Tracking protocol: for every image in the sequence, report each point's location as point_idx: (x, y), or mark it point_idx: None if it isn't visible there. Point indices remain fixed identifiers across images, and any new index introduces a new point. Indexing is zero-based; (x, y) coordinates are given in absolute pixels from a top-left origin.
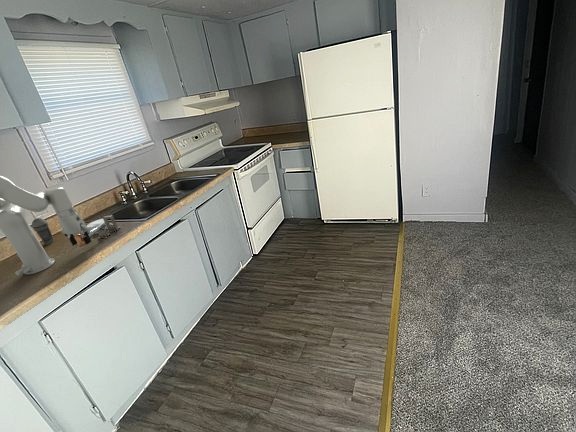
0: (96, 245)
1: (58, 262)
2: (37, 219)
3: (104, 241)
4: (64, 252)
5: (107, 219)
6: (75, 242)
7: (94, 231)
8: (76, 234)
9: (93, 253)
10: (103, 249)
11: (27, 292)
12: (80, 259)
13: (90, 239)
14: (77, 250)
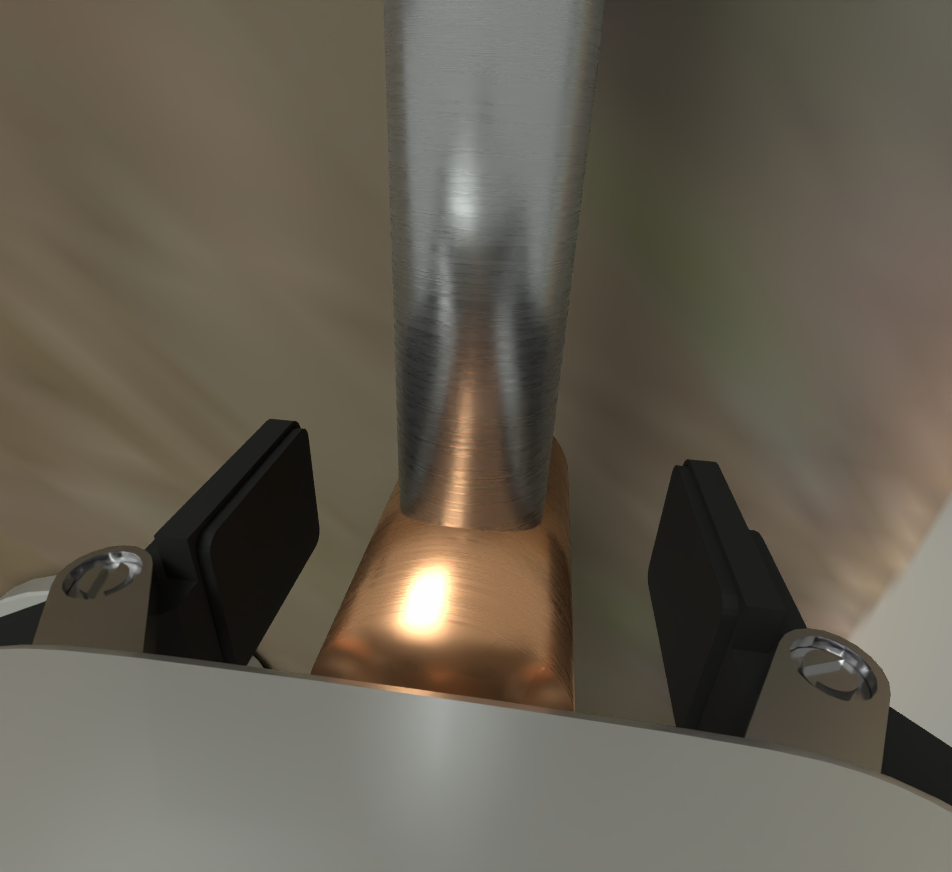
0: (638, 258)
1: (308, 651)
2: None
3: (768, 54)
4: (66, 392)
5: None
6: (300, 512)
7: None
8: (321, 662)
9: (780, 569)
10: (944, 484)
11: None
12: (639, 670)
13: (730, 494)
14: (299, 381)
